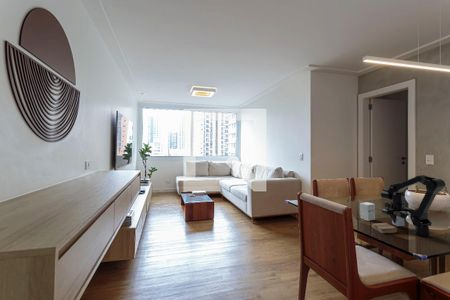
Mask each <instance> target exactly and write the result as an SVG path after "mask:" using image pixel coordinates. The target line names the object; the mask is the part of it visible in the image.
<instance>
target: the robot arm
mask: <svg viewBox="0 0 450 300" xmlns="http://www.w3.org/2000/svg"><path fill="white" fill-rule="evenodd" d="M420 183H421V184H422V185H424V186H425V190H426V192H425V194H424V196H423V198H422V199H421V202H420V204H419V206H418V207H417V208H416V209H414V208H410V207H403V206H404V205H405V203H403V197H405V196H406V194H405V193H404V192H403V191H404V190H406V189H407V188H408V187H411V186H414V185H417V184H420ZM445 187H446V182H445V181H444V180H443V179H441V178H436V177H435V178H434V177H431V176H427V175H424V174H419V175H416V176H414V177H411V178H409V179H407V180H404V181H403V182H397V183H392V184H391V183H390V186H389V188H388V189H382V191H381V193H380V197H381V198H382V199H386V200H389V201H390V200H391V201H390V203H389V202H384V207H385V208H383V209H381V212H382V213H383V214H385V215H388V216H390V219H391V221H392V220H393V222H394V223H396V217H397V214H395V213H399V215H400V217H401V218H404V221H405V220H406V218H407V217H408V216H409V215H410V216H409V218H410V221H411V223H412V225H413V226H414V227H415V232H413V234H414V235H416V236H419V237H421V238H429V237H430V238H431V237H432V235H431V234H430V226H432V224H433V222H432V221H430V219H429V218H428V217H429V215H428V212H429V209H430V208H431V205H432V204H433V203H434V202H433V201H434V200H435V198H436V196H437V194H438V193H440V192H441V191H442V190H444V188H445Z"/></svg>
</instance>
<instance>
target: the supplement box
mask: <svg viewBox="0 0 450 300" xmlns="http://www.w3.org/2000/svg"><path fill="white" fill-rule="evenodd" d="M359 213H360V219H362V220H365V221H368V222H369V221H370V222H371V221H376V205H375V203H372V202H368V201H365V202H360V203H359Z"/></svg>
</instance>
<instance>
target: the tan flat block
mask: <svg viewBox="0 0 450 300" xmlns="http://www.w3.org/2000/svg"><path fill="white" fill-rule="evenodd" d="M371 227H372V229H374V230H376V231H377V232H378V233H381V234H393V233H397V232H398V229H397V227H396V226H393V225H391V224H389V223H387V222H380V223H377V222H375V223H372V224H371Z"/></svg>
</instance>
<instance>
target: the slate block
mask: <svg viewBox="0 0 450 300" xmlns="http://www.w3.org/2000/svg"><path fill="white" fill-rule="evenodd" d="M391 222H392V223H391V224H392V225H394V226H395V227H405V222H406V221H405V220H404V218H401V216H398V215H397V216H396V223H394V222H393V220H392V219H391Z"/></svg>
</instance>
